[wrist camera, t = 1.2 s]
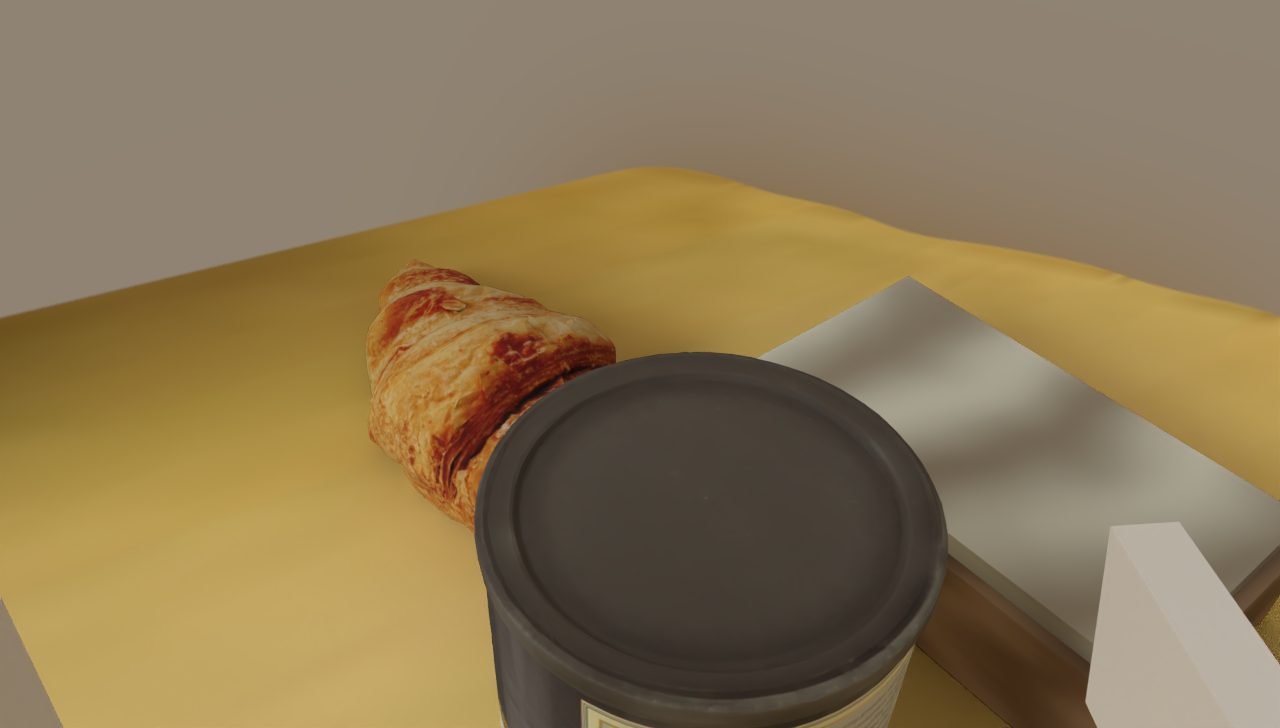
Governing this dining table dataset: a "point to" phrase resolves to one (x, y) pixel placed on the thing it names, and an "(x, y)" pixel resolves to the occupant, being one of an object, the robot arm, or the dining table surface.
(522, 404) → the croissant
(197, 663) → the dining table surface
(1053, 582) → the stand
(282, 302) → the dining table surface
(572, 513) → the coffee can
